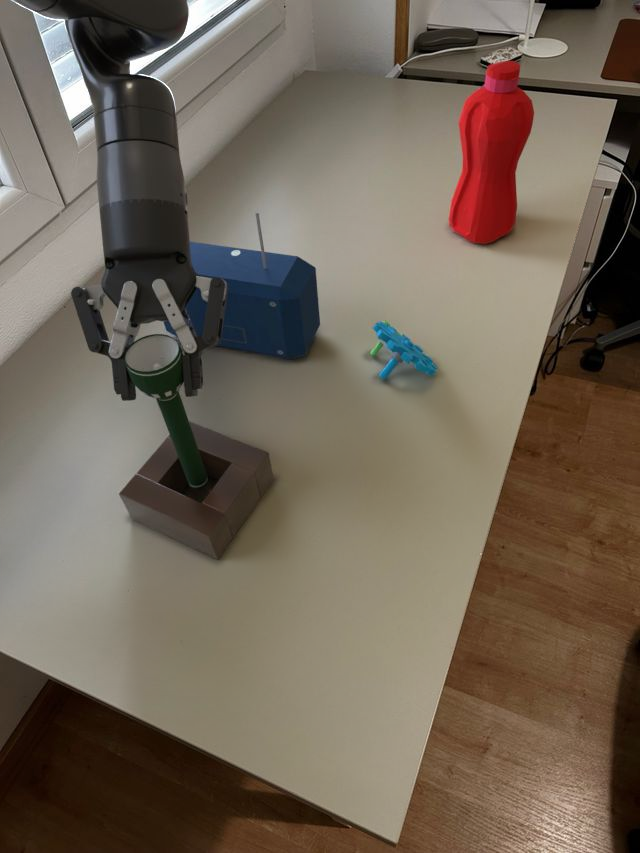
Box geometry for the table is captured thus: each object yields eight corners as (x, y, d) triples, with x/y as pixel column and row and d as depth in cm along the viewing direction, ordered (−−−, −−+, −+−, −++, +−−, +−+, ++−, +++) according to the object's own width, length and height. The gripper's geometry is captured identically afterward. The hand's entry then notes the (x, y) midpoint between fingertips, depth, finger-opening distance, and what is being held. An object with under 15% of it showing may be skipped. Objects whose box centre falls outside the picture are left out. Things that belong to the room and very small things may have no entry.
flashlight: (216, 459, 74) (175, 327, 59) (226, 494, 71) (185, 363, 56) (172, 472, 73) (119, 341, 58) (181, 508, 70) (127, 379, 55)
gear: (453, 377, 81) (400, 347, 76) (423, 412, 84) (369, 385, 78) (415, 333, 89) (365, 303, 84) (389, 366, 92) (337, 338, 86)
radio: (323, 325, 92) (313, 196, 77) (304, 367, 87) (289, 238, 72) (191, 303, 97) (158, 179, 82) (165, 342, 92) (124, 216, 77)
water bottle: (474, 202, 110) (495, 41, 91) (521, 230, 104) (554, 64, 85) (432, 222, 107) (445, 60, 88) (479, 252, 101) (503, 84, 82)
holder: (217, 560, 69) (208, 536, 65) (131, 519, 73) (118, 493, 69) (274, 478, 75) (269, 452, 71) (192, 445, 79) (183, 418, 76)
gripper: (44, 202, 54) (65, 405, 55) (216, 188, 53) (232, 394, 55) (80, 222, 61) (97, 401, 62) (230, 211, 61) (245, 391, 62)
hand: (160, 397), depth 59 cm, fingers closed on flashlight, 5 cm apart
